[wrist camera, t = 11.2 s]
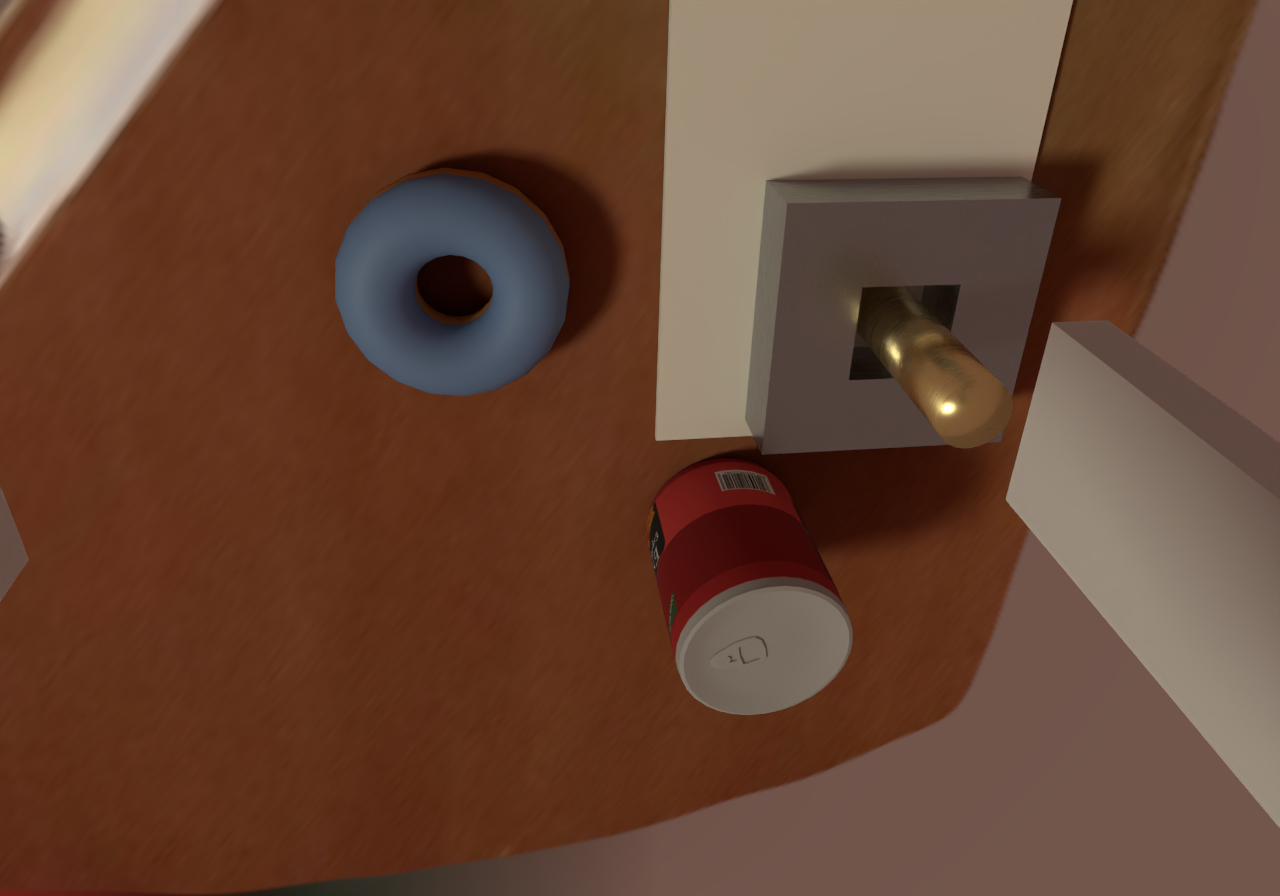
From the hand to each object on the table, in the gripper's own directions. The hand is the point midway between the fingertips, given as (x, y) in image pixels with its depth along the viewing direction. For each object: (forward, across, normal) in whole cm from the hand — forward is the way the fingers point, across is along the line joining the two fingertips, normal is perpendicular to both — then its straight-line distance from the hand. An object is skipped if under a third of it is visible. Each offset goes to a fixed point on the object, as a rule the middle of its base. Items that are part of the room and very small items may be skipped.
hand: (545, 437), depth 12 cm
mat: (+31, +15, -5) cm, 35 cm away
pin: (+30, +17, -11) cm, 36 cm away
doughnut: (+31, -3, -9) cm, 33 cm away
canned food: (+31, +10, -23) cm, 40 cm away
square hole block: (+30, +17, -11) cm, 36 cm away
